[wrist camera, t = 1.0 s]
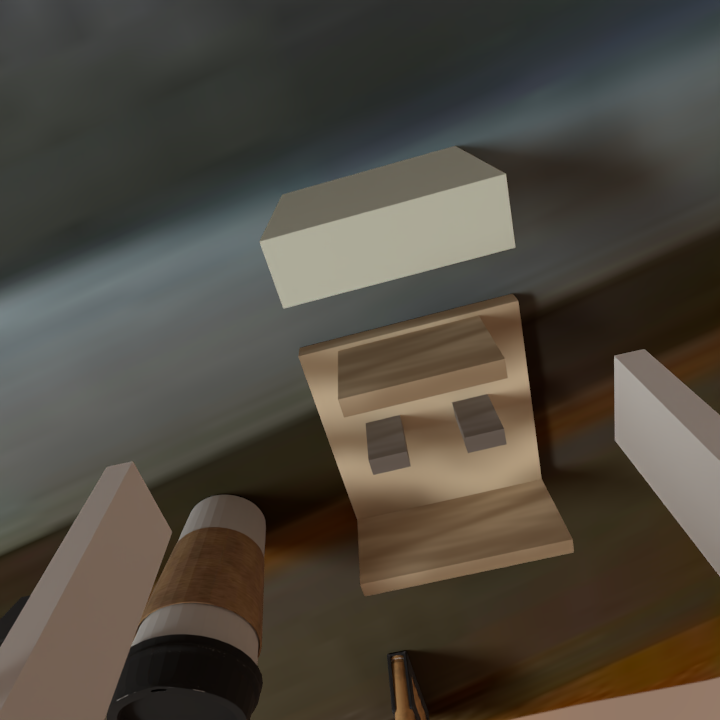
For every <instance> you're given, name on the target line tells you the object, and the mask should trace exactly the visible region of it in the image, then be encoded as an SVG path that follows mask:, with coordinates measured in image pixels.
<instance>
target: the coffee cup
mask: <svg viewBox="0 0 720 720" xmlns="http://www.w3.org/2000/svg"><path fill="white" fill-rule="evenodd" d="M265 536H266V521H265V518H264V515H263V513H262V512H261V510H260V509H259V508H258V507H257V506H256V505H255V504H253V503H252V502H250V501H249V500H247V499H244V498H242V497H239V496H235V495H216V496H211V497H209V498H206V499H204V500H202V501H201V502H199V503H198V504H197V505H196V506H195V507H194V508H193V510H192V511H191V513H190V515H189V518H188V520H187V522H186V524H185V527H184V529H183V531H182V533H181V536H180V538H179V540H178V542H177V544H176V545H175V547H174V549H173V551H172V553H171V556H170V558H169V560H168V562H167V564H166V566H165V568H164V570H163V572H162V574H161V576H160V578H159V580H158V582H157V584H156V586H155V589H154V591H153V593H152V595H151V597H150V599H149V601H148V603H147V605H146V607H145V609H144V611H143V614H142V617H141V620H140V622H139V625H138V628H137V631H136V633H135V636H134V639H133V643H132V645H131V647H130V650H129V653H128V656H127V658H126V661H125V664H124V667H123V669H122V672H121V675H120V678H119V681H118V683H117V686H116V689H115V692H114V694H113V697H112V700H111V703H110V705H109V708H108V712H107V720H250V717H251V714H252V713H253V712H254V710H255V708H256V706H257V704H258V701H259V696H260V693H261V689H262V684H263V682H262V674H261V672H260V670H259V668H258V666H257V660H258V657H259V655H260V652H261V647H262V620H263V589H264V551H265Z"/></svg>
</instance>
